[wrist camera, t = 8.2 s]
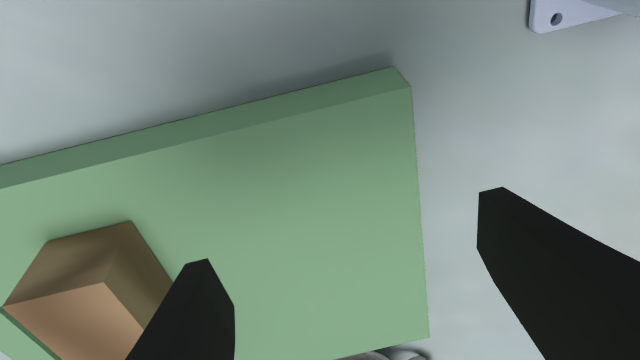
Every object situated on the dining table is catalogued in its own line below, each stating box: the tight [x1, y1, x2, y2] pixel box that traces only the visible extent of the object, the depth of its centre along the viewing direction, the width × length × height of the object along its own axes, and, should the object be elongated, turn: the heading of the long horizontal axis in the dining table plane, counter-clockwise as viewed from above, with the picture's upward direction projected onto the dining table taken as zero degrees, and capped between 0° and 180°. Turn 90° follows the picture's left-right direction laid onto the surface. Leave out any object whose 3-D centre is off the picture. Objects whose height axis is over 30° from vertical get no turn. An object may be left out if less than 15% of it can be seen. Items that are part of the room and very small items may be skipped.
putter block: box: [2, 221, 173, 360], centre depth 19 cm, size 4×12×4 cm, turn 12°
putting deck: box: [0, 66, 430, 360], centre depth 19 cm, size 26×18×10 cm
